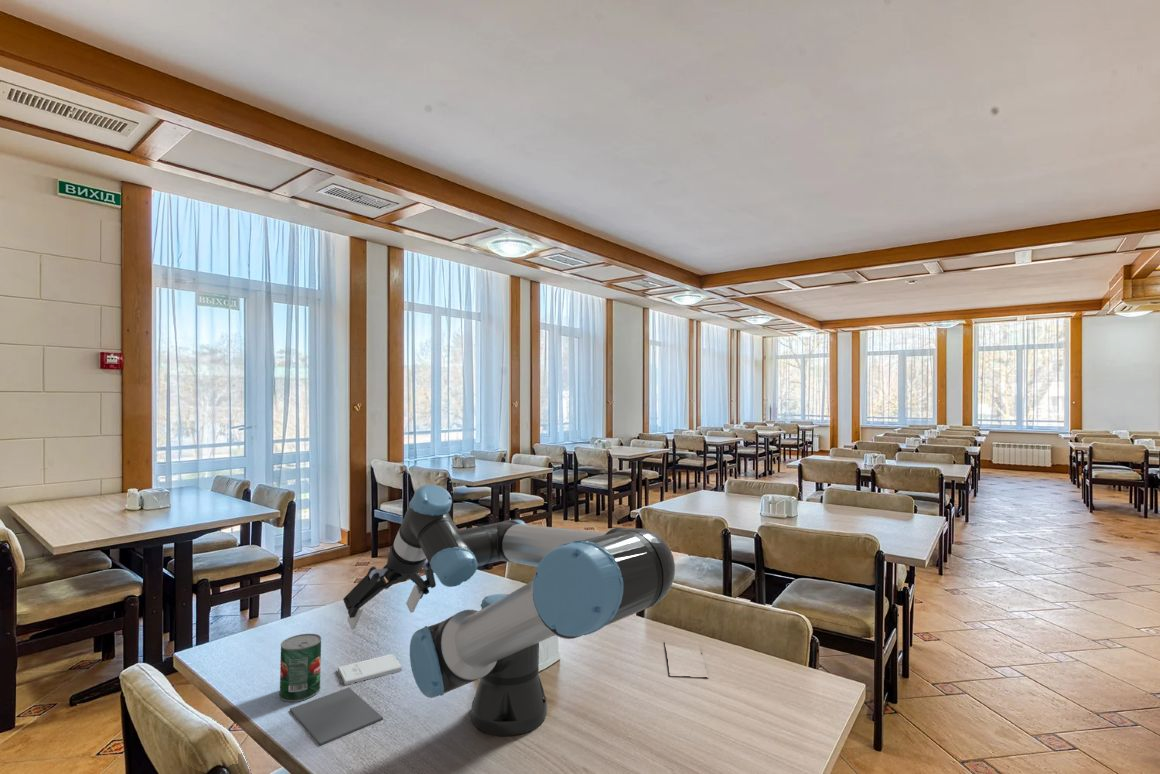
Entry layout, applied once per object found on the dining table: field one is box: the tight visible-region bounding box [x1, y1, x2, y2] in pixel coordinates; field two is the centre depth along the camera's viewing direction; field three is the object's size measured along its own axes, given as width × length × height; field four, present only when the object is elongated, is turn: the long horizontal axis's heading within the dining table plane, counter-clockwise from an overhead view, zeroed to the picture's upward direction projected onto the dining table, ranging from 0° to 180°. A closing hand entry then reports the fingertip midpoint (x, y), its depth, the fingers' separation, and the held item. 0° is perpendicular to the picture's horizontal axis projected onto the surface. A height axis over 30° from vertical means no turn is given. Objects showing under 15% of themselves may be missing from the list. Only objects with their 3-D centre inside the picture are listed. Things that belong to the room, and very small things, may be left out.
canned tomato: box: [279, 633, 322, 703], centre depth 121 cm, size 8×8×11 cm
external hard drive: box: [337, 653, 403, 686], centre depth 131 cm, size 2×8×12 cm
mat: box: [289, 687, 384, 746], centre depth 112 cm, size 16×12×1 cm
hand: (381, 615), depth 124 cm, fingers open, 13 cm apart
